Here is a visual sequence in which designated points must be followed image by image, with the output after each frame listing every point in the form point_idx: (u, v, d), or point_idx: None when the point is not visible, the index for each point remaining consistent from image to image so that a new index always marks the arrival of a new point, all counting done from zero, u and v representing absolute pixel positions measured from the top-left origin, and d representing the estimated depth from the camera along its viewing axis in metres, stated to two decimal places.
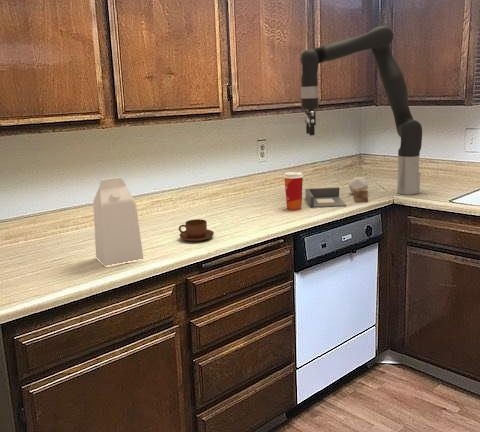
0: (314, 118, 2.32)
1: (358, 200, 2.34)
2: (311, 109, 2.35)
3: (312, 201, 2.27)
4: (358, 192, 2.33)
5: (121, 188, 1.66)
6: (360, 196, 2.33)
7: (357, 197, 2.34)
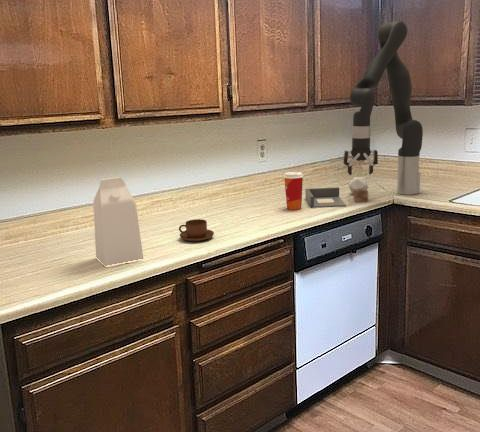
0: None
1: (358, 200, 2.34)
2: None
3: (312, 201, 2.27)
4: (358, 192, 2.33)
5: (121, 188, 1.66)
6: (360, 196, 2.33)
7: (357, 197, 2.34)
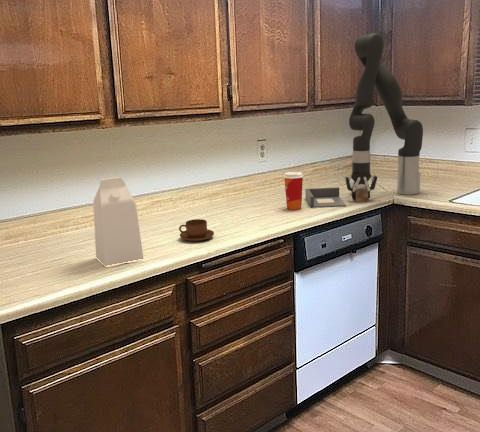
0: None
1: (358, 200, 2.34)
2: None
3: (312, 201, 2.27)
4: (358, 192, 2.33)
5: (121, 188, 1.66)
6: (360, 196, 2.33)
7: (357, 197, 2.34)
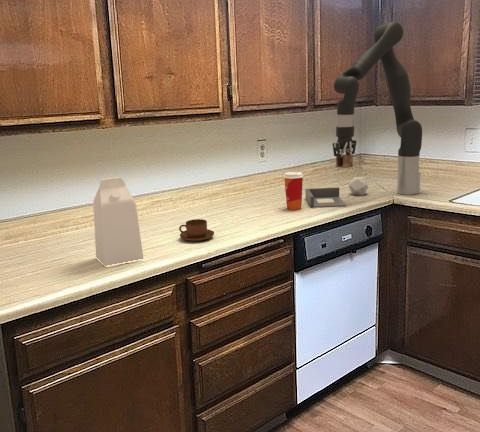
0: None
1: (346, 165, 2.29)
2: None
3: (312, 201, 2.27)
4: (347, 157, 2.28)
5: (121, 188, 1.66)
6: (348, 161, 2.29)
7: (346, 162, 2.29)
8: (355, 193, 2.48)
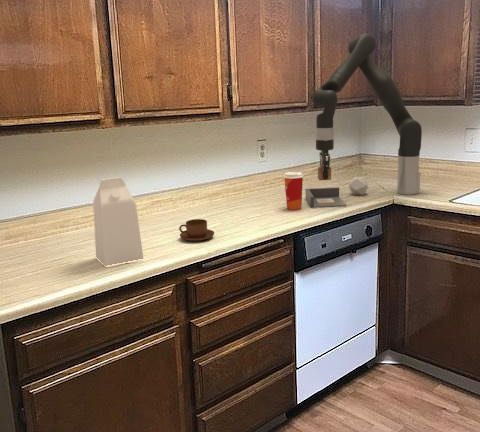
0: None
1: (330, 177, 2.33)
2: None
3: (312, 201, 2.27)
4: None
5: (121, 188, 1.66)
6: None
7: (330, 174, 2.32)
8: (355, 193, 2.48)
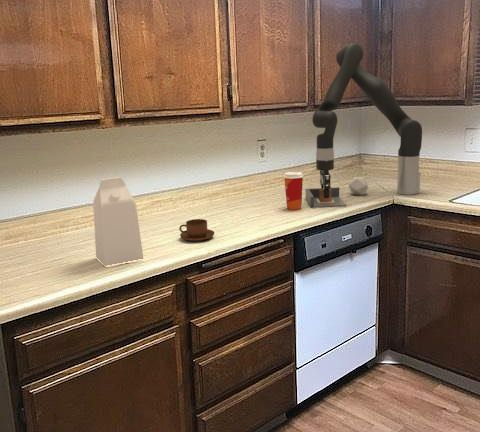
0: None
1: (331, 198, 2.35)
2: None
3: (312, 201, 2.27)
4: (331, 190, 2.34)
5: (121, 188, 1.66)
6: None
7: (331, 196, 2.34)
8: (355, 193, 2.48)
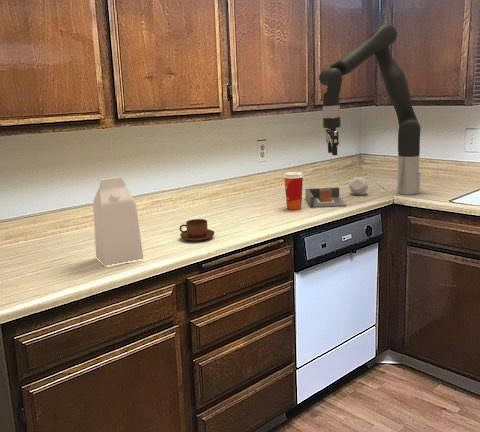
0: None
1: (331, 198, 2.35)
2: None
3: (312, 201, 2.27)
4: (331, 190, 2.34)
5: (121, 188, 1.66)
6: None
7: (331, 196, 2.34)
8: (355, 193, 2.48)
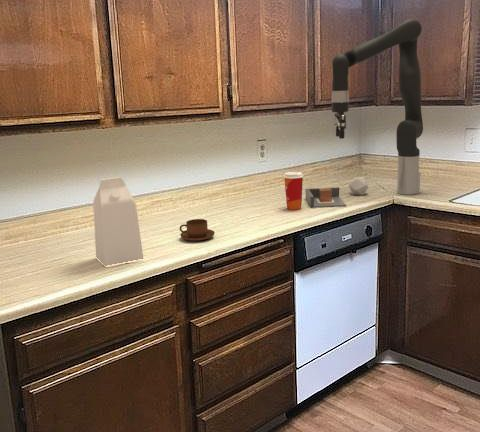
0: None
1: (331, 198, 2.35)
2: None
3: (312, 201, 2.27)
4: (331, 190, 2.34)
5: (121, 188, 1.66)
6: None
7: (331, 196, 2.34)
8: (355, 193, 2.48)
